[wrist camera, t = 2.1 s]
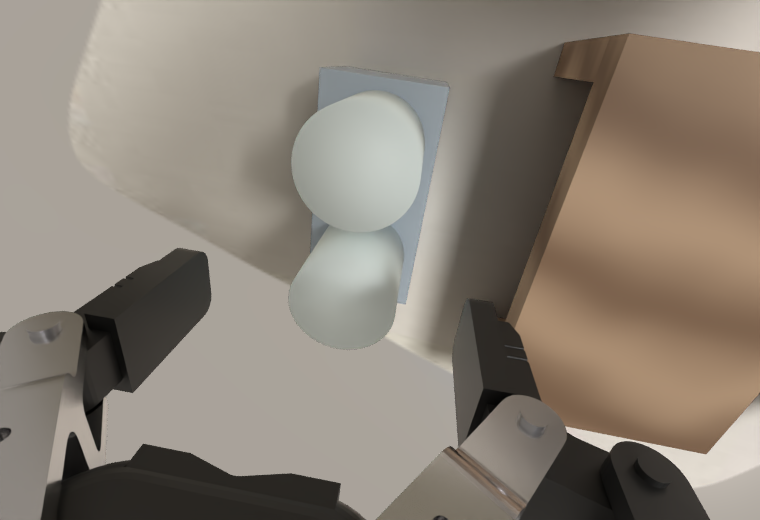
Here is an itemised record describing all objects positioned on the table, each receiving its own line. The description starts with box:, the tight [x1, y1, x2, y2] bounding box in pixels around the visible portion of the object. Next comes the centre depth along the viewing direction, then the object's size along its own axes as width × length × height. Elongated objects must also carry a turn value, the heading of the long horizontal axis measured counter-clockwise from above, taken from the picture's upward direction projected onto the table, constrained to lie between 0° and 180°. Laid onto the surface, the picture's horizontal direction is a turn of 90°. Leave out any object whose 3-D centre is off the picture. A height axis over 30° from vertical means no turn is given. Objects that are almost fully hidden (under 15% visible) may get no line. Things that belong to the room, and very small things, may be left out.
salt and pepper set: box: [288, 66, 450, 350], centre depth 18 cm, size 11×6×10 cm, turn 172°
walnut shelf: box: [497, 33, 760, 454], centre depth 19 cm, size 18×12×7 cm, turn 172°
